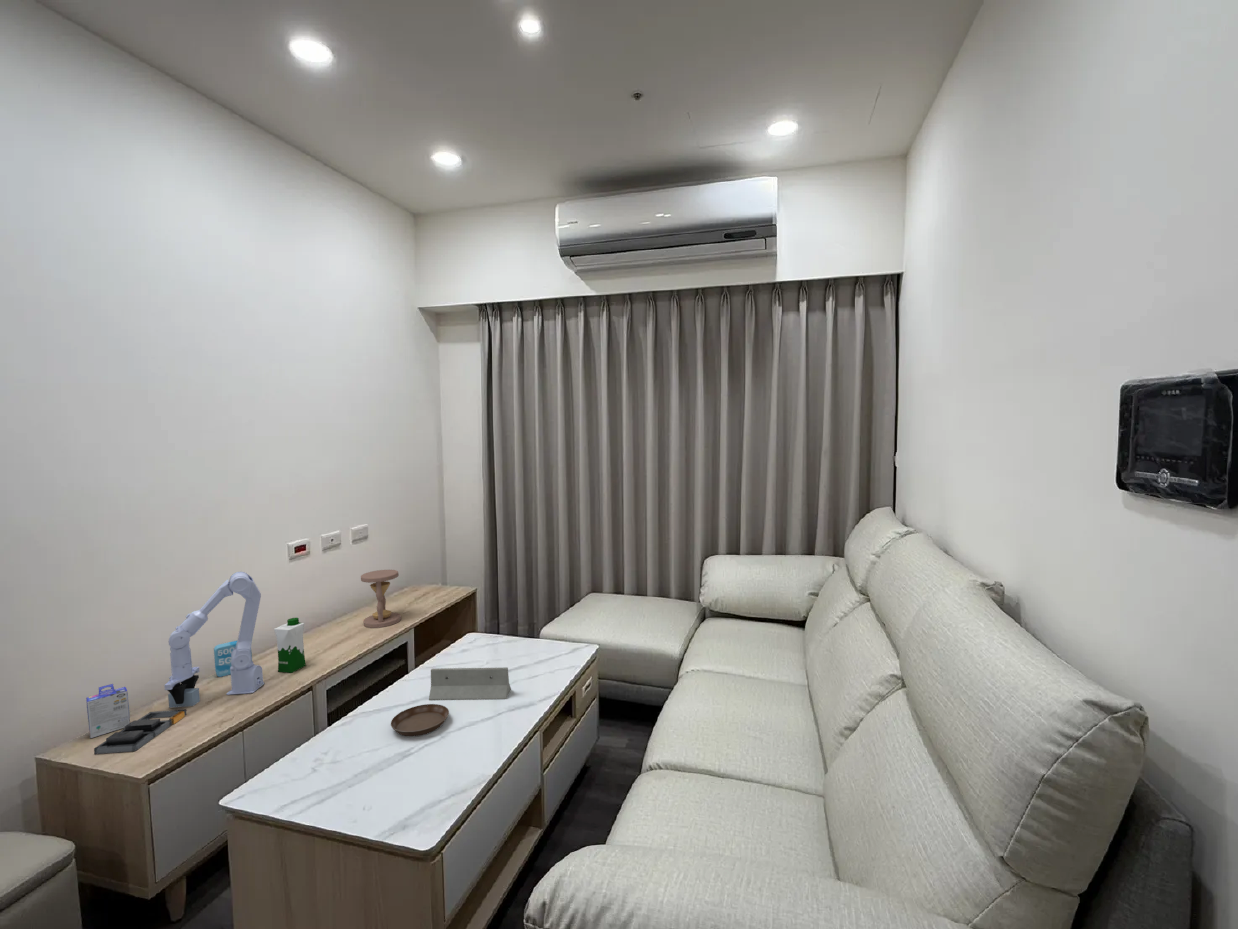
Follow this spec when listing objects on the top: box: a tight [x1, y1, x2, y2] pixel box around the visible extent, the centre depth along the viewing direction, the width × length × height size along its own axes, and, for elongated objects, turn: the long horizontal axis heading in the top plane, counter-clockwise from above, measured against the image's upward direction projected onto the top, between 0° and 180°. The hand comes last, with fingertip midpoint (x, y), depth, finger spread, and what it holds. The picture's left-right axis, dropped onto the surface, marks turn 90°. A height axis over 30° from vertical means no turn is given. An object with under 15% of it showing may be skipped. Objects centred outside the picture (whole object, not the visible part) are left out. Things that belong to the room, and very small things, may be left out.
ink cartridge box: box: [85, 683, 131, 739], centre depth 179 cm, size 10×6×14 cm, turn 138°
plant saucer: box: [390, 703, 450, 738], centre depth 175 cm, size 18×18×3 cm
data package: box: [213, 640, 253, 678], centre depth 222 cm, size 12×4×12 cm, turn 131°
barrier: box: [428, 667, 512, 701], centre depth 195 cm, size 28×7×10 cm, turn 88°
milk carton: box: [273, 617, 307, 674], centre depth 222 cm, size 9×9×20 cm
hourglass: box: [360, 569, 402, 629], centre depth 276 cm, size 18×18×25 cm
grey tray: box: [93, 709, 187, 755], centre depth 176 cm, size 12×22×4 cm, turn 5°
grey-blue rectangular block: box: [167, 687, 201, 709], centre depth 195 cm, size 8×4×5 cm, turn 95°
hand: (184, 700), depth 195 cm, fingers open, 4 cm apart
